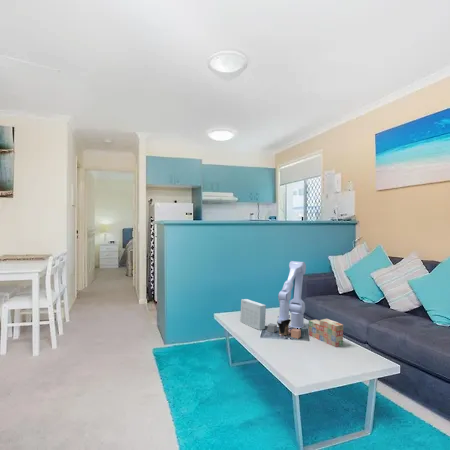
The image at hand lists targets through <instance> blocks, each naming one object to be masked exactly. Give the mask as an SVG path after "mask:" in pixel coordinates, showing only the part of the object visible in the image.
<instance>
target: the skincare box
mask: <svg viewBox="0 0 450 450" xmlns="http://www.w3.org/2000/svg"><path fill="white" fill-rule="evenodd" d="M266 308H267V305H266V304H264V303H260V302H257V301H254V300H251V299H248V298H244V299H243V298H241V300H240V318H239V319H240V320H239V321H240V323H242V324H245V325H246V326H249V327H252V328H254V329H256V330H259V331H261V330H265V329H266V312H267V310H266Z"/></svg>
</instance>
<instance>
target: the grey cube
mask: <svg viewBox="0 0 450 450" xmlns="http://www.w3.org/2000/svg"><path fill="white" fill-rule="evenodd" d="M266 330H267V331H268V332H267V333H270V332H273V333H272V334H275V333H277V332H276V331H278V324H277V323H268V324H267V329H266ZM274 332H275V333H274Z"/></svg>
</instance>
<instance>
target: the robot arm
mask: <svg viewBox="0 0 450 450" xmlns="http://www.w3.org/2000/svg"><path fill="white" fill-rule="evenodd" d="M288 268H289V273H288V277H287V280H285V281H284V283H283V286H282V288H281V290H280V291H279V292H278V296H277V298H278V299H277V300H278V304H279V315H278V316H277V318H278V319H277V322H276V324H277V326H278V330H279V329H280V333H283V334H284V331H285V326H286V325H289V328H292V329H293V328H296V329H297V328H298V329H300V328H301V329H302V328H303V327H305V326H306V325H305V324H304V321H305V319H304V317H305V315H304V313H305V311H306V303H305V301H304V300H303V299H302V293H303V292H302V291H303V282H304V281H303V279H304V275H306V271H307V265H306V262H305V261H295V260H290V262H289V263H288ZM293 288H294V290H293ZM292 290H293V298H292Z"/></svg>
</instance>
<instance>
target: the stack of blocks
mask: <svg viewBox="0 0 450 450" xmlns="http://www.w3.org/2000/svg"><path fill="white" fill-rule="evenodd" d="M308 336H310V337H312V338H314V339H317V340H318V341H321V342H323V343H325V344H328V345H330V346H332V347H334V348H338V347H341V345H342V346H344V343H343V342H344V324H343V323H340V322H338V321H335V320H332V319H329V318H323V319H320V320H319V319H312V320H308Z"/></svg>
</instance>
